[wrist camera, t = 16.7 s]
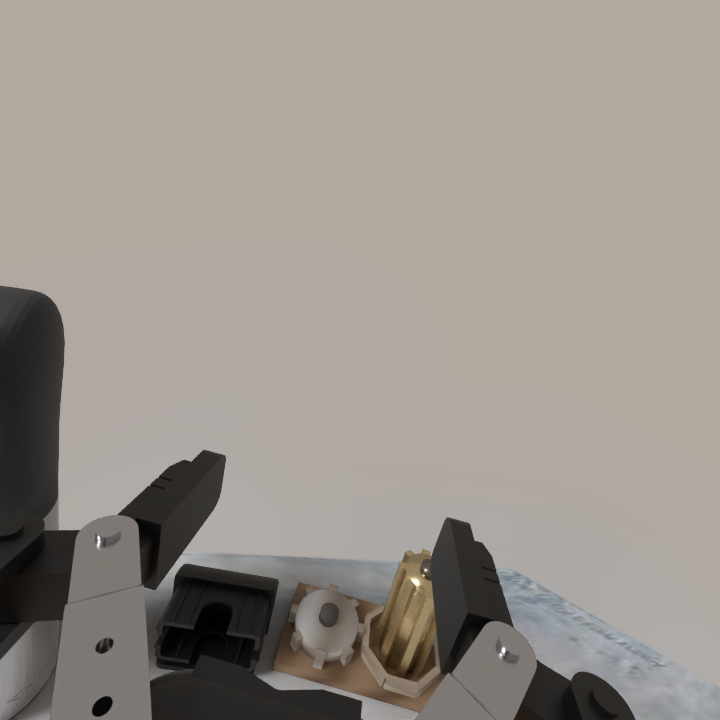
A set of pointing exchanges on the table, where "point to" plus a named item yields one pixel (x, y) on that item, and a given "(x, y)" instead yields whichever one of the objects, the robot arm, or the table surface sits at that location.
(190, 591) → the end cap
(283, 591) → the table surface
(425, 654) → the pinion
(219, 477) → the robot arm
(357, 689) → the gear board
